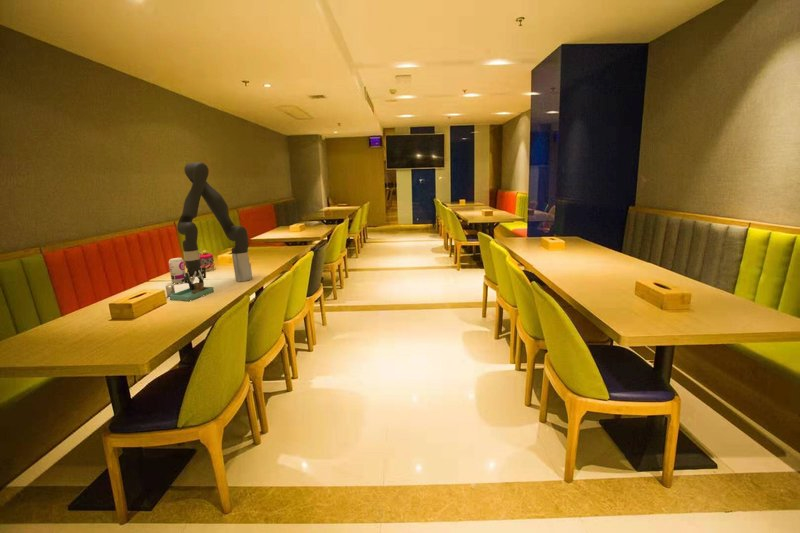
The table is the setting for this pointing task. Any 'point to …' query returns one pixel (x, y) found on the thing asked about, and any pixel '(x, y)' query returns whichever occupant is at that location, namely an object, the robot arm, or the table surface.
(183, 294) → the tray
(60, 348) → the table surface
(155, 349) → the table surface
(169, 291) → the metal peg
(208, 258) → the cake
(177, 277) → the supplement can
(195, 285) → the walnut block
